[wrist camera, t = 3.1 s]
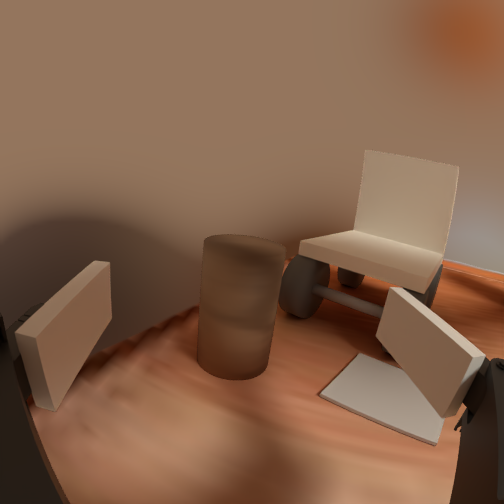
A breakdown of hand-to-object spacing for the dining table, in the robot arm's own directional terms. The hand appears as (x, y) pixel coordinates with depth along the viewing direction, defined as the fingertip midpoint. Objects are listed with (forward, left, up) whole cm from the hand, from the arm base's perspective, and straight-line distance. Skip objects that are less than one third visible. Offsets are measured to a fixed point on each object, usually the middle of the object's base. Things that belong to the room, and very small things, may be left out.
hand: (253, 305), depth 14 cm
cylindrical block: (-7, -7, -10) cm, 14 cm away
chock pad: (-12, +6, -10) cm, 17 cm away
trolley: (-27, -2, -10) cm, 29 cm away
